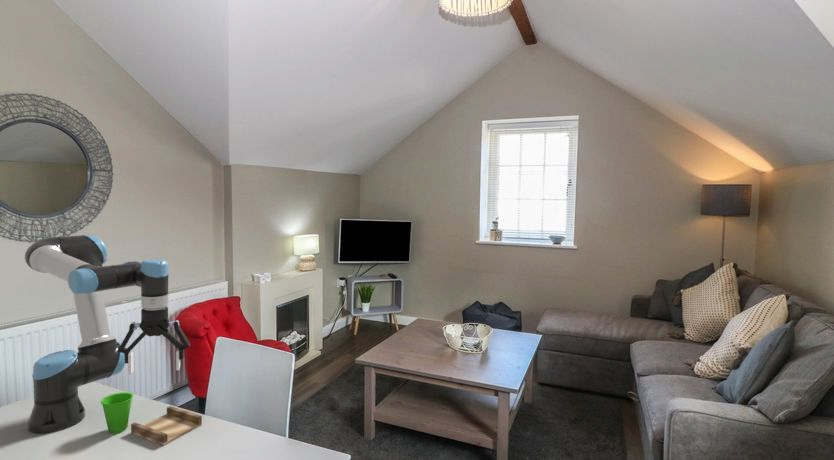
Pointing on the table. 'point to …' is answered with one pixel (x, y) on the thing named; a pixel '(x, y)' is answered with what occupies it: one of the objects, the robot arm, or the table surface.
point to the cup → (117, 411)
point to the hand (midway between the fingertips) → (154, 370)
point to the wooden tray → (168, 426)
